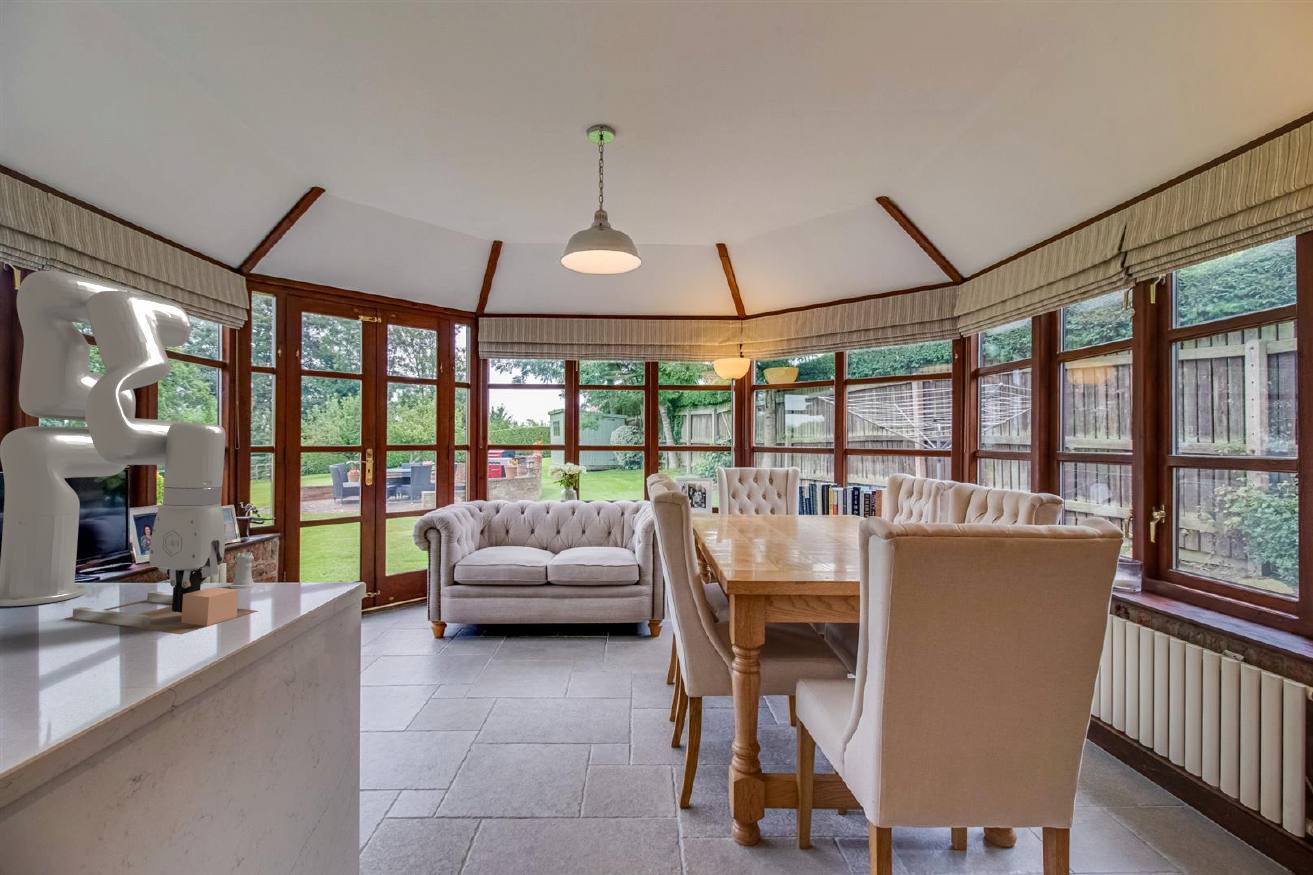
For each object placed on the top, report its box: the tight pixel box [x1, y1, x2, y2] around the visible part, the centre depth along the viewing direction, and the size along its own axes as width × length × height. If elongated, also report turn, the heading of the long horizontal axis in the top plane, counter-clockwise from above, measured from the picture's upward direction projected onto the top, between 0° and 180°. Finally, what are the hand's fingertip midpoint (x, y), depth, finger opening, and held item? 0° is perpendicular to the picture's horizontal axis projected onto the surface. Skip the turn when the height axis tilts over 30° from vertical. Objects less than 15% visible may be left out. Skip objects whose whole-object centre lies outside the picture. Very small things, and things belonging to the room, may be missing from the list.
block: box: [181, 586, 239, 627], centre depth 92 cm, size 5×5×4 cm
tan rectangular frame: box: [63, 590, 259, 635], centre depth 94 cm, size 23×13×3 cm, turn 78°
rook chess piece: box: [228, 551, 257, 590], centre depth 114 cm, size 4×4×8 cm
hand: (185, 609), depth 93 cm, fingers closed
